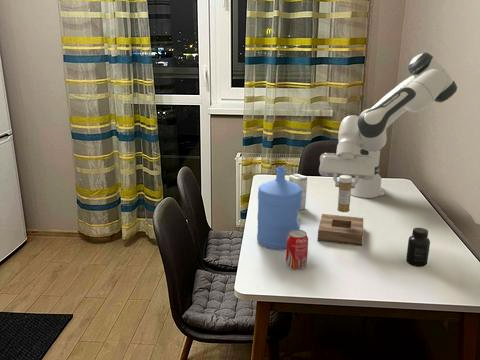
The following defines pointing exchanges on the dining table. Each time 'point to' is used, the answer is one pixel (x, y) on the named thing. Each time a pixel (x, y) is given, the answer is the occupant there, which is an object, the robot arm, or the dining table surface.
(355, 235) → the socket block
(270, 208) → the water jug
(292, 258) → the soda can
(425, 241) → the supplement bottle
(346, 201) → the sprinkles bottle
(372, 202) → the dining table surface
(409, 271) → the dining table surface
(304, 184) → the syrup box
